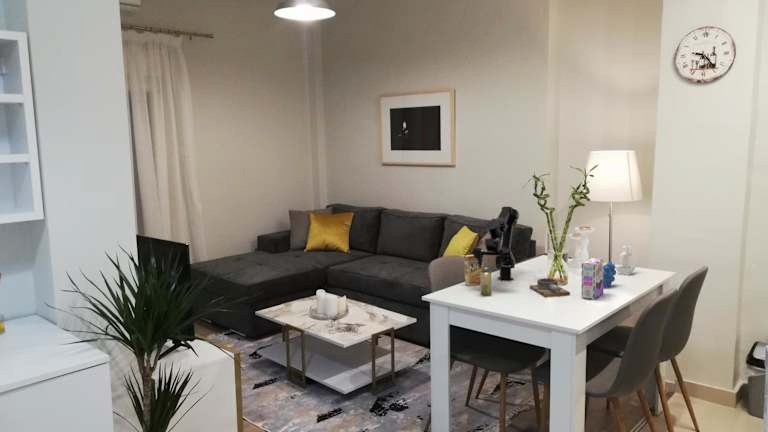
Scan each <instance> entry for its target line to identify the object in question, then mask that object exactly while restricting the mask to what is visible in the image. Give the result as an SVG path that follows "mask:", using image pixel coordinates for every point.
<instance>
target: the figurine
mask: <svg viewBox="0 0 768 432" xmlns="http://www.w3.org/2000/svg"><path fill="white" fill-rule="evenodd" d="M632 253H633V247H632V246H631V245H623V246H622V252H621V253H620V254H619V264H621V265H619V266H615V267H616V268H615V270H616V272H618V274H619V275H622V274H623V276H629V274H630V275H633V273H634V271H635V269H636V268H637V267H636V266H631V265H630V266H629V260H630V259H629V257H631V256H632V255H633V254H632Z"/></svg>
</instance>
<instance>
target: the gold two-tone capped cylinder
mask: <svg viewBox="0 0 768 432" xmlns="http://www.w3.org/2000/svg"><path fill="white" fill-rule="evenodd" d="M480 282H481V285H480V296H481V295H483V296H482V297H491V296H493V295H492V271H490V267H489V266H483V267H482V271H481V272H480ZM490 295H491V296H490Z"/></svg>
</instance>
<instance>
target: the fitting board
mask: <svg viewBox="0 0 768 432" xmlns="http://www.w3.org/2000/svg"><path fill="white" fill-rule="evenodd" d="M558 282H559V281H558V280H557V279H554V278H550V277H549V278H547V277H546V278H545V277H544V278H538V279H537V283H536V284H532V285H531V284H529V289H530V290H532V291H534V292H535V293H537V294H538V295H540V296H542V297H544V298H552V297H555V298H556V297H565V296H571V292H570V291H568V289H567V290H566V289H565V288H562V287H560V286H559V284H558Z"/></svg>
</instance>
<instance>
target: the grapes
mask: <svg viewBox="0 0 768 432" xmlns="http://www.w3.org/2000/svg"><path fill="white" fill-rule="evenodd" d="M616 267H617V266H616V265H615V264H614V263H612V262H611V261H608V262H607V263H606V264H603V288H606V287H611V286H612V283H613V282H614V281H616V278H615V275H616V274H617V269H616Z"/></svg>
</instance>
